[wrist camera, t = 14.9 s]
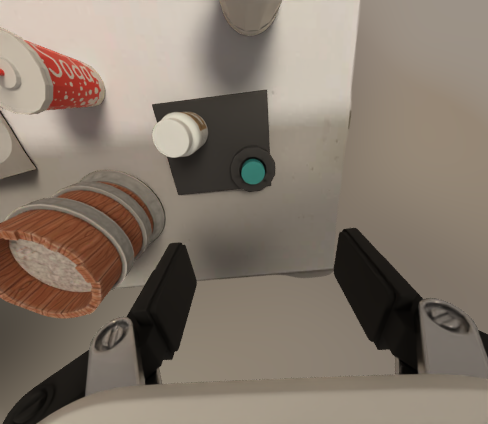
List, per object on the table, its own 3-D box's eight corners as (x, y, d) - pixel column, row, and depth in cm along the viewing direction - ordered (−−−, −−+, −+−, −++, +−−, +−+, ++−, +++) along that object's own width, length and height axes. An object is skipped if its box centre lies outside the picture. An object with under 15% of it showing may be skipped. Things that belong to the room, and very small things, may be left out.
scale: (269, 90, 24) (272, 87, 21) (273, 182, 29) (275, 189, 27) (156, 104, 24) (145, 104, 22) (181, 191, 30) (174, 199, 27)
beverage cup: (119, 109, 25) (-6, 110, 12) (75, 116, 25) (-89, 122, 13) (97, 49, 22) (-96, -29, 10) (47, 57, 22) (-199, -7, 10)
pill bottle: (210, 116, 24) (196, 119, 17) (206, 152, 26) (191, 167, 19) (175, 107, 23) (145, 106, 17) (173, 144, 25) (146, 157, 19)
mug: (181, 229, 33) (139, 308, 20) (96, 261, 37) (13, 345, 24) (130, 154, 27) (21, 195, 14) (34, 200, 31) (-124, 267, 18)
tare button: (263, 157, 25) (264, 160, 24) (264, 179, 26) (265, 183, 25) (240, 160, 25) (240, 162, 24) (242, 181, 26) (242, 185, 25)
